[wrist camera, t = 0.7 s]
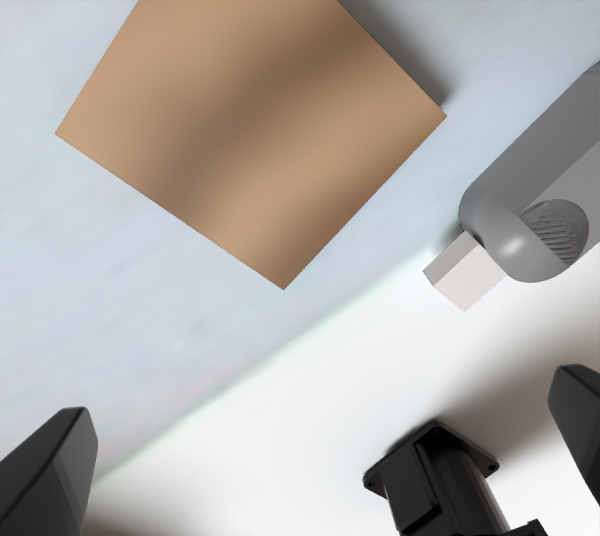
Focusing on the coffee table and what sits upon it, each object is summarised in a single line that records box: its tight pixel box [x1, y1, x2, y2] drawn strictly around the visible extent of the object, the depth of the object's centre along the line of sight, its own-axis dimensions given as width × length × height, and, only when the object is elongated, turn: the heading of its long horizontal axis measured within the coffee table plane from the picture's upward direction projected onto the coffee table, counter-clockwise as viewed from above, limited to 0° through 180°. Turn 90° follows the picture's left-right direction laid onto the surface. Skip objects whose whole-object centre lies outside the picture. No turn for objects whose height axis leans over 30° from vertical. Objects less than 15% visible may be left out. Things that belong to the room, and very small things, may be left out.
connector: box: [423, 62, 600, 312], centre depth 20 cm, size 4×12×4 cm, turn 139°
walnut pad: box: [54, 0, 447, 290], centre depth 18 cm, size 11×10×1 cm
